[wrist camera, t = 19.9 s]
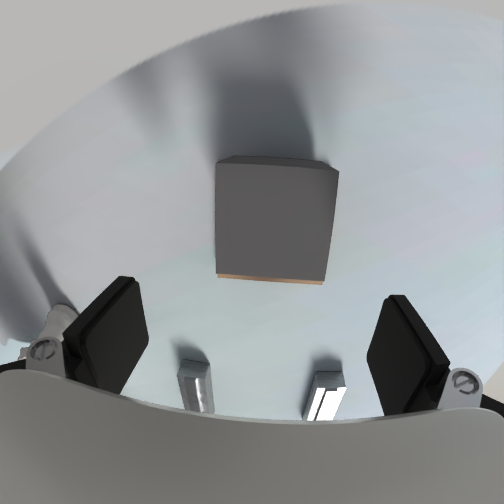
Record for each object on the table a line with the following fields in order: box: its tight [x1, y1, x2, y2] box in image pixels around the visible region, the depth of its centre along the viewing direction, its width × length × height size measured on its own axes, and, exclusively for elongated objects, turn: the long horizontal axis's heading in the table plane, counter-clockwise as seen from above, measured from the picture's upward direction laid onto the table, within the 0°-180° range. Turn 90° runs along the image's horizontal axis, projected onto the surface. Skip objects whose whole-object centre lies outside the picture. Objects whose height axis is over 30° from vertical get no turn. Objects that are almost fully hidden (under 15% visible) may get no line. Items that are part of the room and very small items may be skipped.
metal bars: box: [177, 360, 346, 420], centre depth 24 cm, size 14×8×2 cm, turn 88°
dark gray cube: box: [215, 156, 339, 281], centre depth 14 cm, size 5×5×5 cm
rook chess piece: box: [18, 305, 79, 360], centre depth 20 cm, size 4×4×8 cm
